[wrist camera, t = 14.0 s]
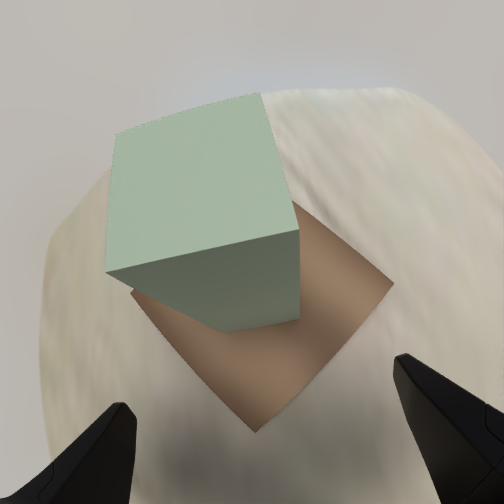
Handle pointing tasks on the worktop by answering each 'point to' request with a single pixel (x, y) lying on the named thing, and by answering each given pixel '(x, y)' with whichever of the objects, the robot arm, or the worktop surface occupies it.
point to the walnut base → (280, 329)
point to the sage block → (206, 216)
